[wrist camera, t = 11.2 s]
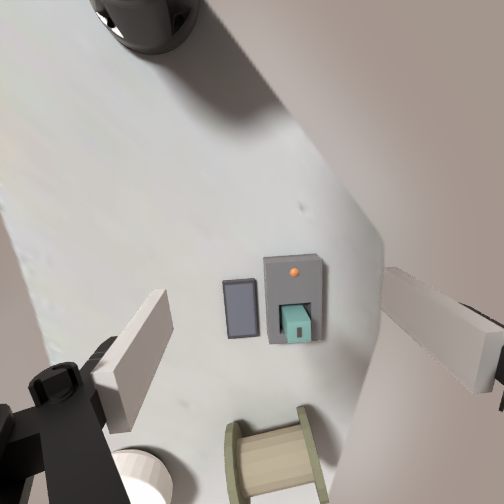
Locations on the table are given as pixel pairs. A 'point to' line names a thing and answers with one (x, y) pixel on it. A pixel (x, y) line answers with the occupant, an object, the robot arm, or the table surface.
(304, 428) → the spool
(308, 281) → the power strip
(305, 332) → the block
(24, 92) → the table surface
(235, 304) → the phone
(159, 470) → the bowl
